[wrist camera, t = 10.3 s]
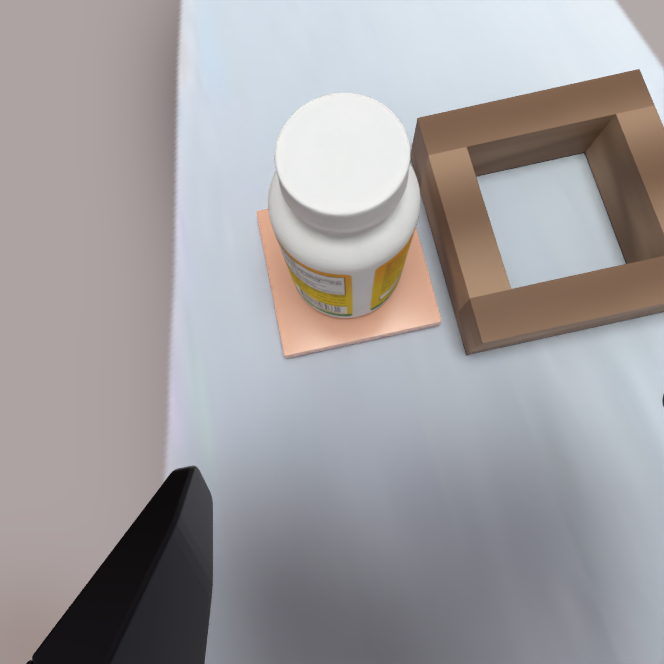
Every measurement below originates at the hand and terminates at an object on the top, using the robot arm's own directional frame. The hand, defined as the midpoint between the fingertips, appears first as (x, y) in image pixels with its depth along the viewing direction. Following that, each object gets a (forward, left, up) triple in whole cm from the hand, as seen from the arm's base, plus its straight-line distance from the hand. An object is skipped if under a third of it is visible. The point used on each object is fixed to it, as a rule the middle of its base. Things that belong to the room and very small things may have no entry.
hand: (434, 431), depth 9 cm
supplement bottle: (+8, 0, -13) cm, 15 cm away
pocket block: (+8, -10, -13) cm, 19 cm away
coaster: (+8, 0, -13) cm, 16 cm away
